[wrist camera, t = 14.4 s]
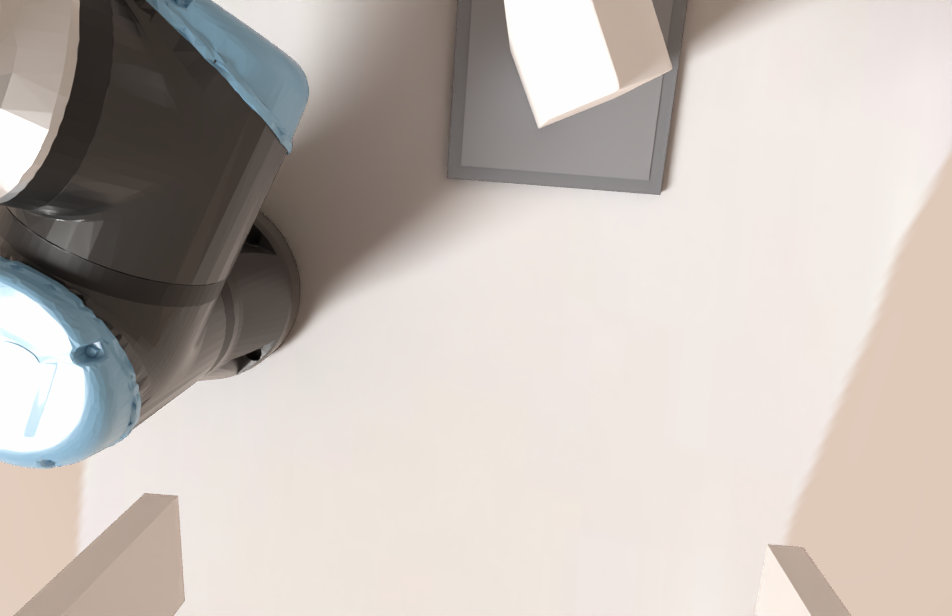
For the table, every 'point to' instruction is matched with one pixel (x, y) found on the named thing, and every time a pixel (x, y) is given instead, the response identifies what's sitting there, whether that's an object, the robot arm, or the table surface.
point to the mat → (566, 141)
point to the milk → (583, 52)
